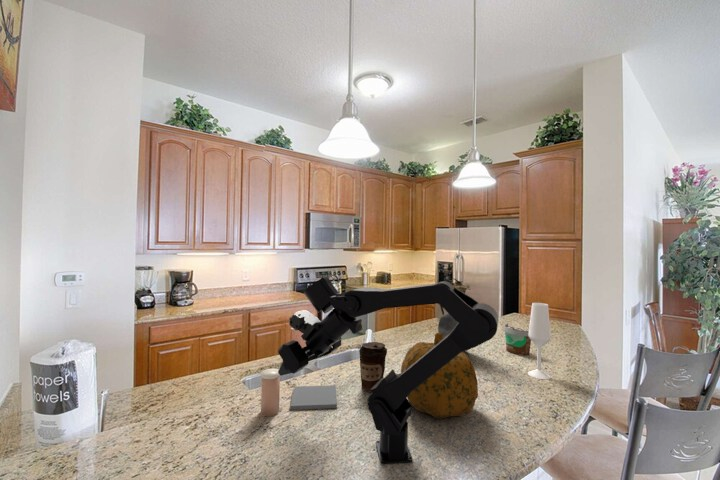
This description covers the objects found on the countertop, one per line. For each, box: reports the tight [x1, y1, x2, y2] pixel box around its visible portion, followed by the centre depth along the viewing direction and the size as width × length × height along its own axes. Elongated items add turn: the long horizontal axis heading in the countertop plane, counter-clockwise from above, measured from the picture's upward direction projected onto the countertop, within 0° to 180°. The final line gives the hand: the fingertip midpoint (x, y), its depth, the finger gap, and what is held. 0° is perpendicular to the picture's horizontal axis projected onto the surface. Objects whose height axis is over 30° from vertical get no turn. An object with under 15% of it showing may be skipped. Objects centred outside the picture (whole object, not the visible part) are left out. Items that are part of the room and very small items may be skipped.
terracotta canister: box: [260, 368, 281, 417], centre depth 80 cm, size 5×5×10 cm
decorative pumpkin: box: [400, 332, 479, 420], centre depth 84 cm, size 20×21×20 cm
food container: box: [503, 323, 532, 356], centre depth 129 cm, size 12×6×10 cm, turn 25°
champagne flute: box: [527, 302, 552, 380], centre depth 107 cm, size 7×7×24 cm
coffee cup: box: [358, 341, 388, 393], centre depth 94 cm, size 9×8×13 cm
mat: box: [289, 384, 338, 411], centre depth 87 cm, size 11×12×1 cm
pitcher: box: [437, 277, 472, 356], centre depth 127 cm, size 11×19×30 cm, turn 26°
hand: (292, 366), depth 77 cm, fingers open, 9 cm apart
